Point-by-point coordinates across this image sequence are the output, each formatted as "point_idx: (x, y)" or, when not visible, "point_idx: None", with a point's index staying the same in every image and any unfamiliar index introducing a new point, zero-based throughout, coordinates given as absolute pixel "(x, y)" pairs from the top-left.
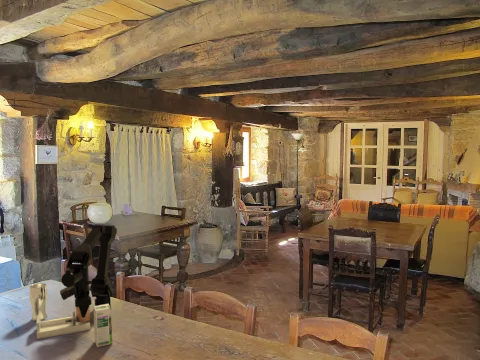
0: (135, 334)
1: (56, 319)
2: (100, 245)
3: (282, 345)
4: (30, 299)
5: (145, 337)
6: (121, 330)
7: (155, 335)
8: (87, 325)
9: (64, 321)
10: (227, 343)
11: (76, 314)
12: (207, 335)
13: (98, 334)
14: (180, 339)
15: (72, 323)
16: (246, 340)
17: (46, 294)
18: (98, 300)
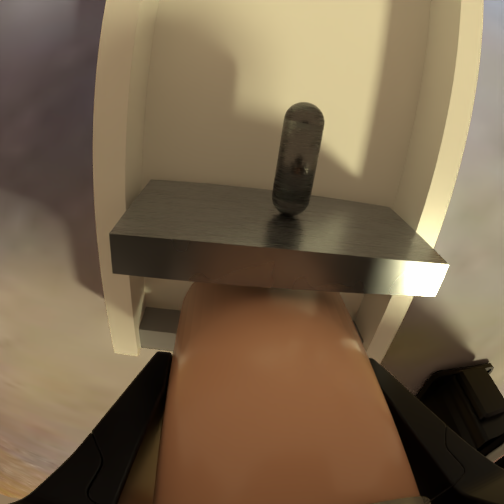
0: (34, 433)
1: (470, 43)
2: None
3: (6, 494)
4: None
5: (12, 436)
6: (77, 422)
7: (28, 454)
8: (114, 325)
9: (425, 121)
10: (3, 480)
11: (248, 322)
12: (33, 488)
13: None
14: (9, 463)
15: (350, 191)
16: (17, 492)
17: None
18: (469, 433)
